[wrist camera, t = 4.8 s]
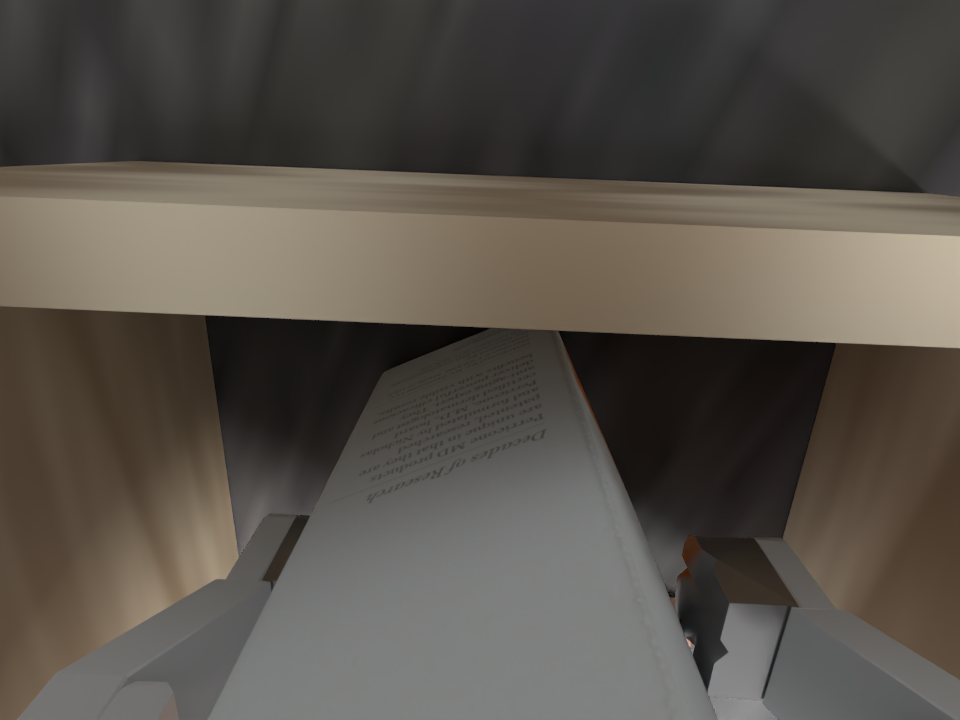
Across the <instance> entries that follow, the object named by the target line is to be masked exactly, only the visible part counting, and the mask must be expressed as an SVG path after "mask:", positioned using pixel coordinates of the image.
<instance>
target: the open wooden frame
mask: <svg viewBox="0 0 960 720" xmlns="http://www.w3.org/2000/svg"><path fill="white" fill-rule="evenodd" d="M205 315H214V316H237V317H260V318H282V319H305V320H328V321H351V322H374V323H397V324H420V325H442V326H465V327H488V328H511V329H534V330H557V331H579V332H602V333H625V334H648V335H671V336H694V337H716V338H739V339H762V340H785V341H808V342H831V343H836V347H835V351H834V354H833V358H832V361H831V365H830V369H829V372H828V376H827V380H826V383H825V387H824V390H823V394H822V398H821V401H820V405H819V408H818V412H817V416H816V419H815V423H814V427H813V430H812V434H811V437H810V441H809V445H808V448H807V452H806V456H805V459H804V463H803V466H802V470H801V474H800V477H799V481H798V485H797V488H796V492H795V495H794V499H793V503H792V506H791V510H790V513H789V517H788V521H787V524H786V528H785V532H784V535H783V540H784V541H786V542H787V543H788V545H789V546H790V547H791V549H792V550H793V551H794V553H795V554H796V555H797V557H798V558H799V559H800V561H801V562H802V563H803V565H804V566H805V568H806V569H807V570H808V572H809V573H810V574H811V576H812V577H813V578H814V580H815V581H816V582H817V584H818V585H819V586H820V588H821V589H822V590H823V592H824V593H825V594H826V596H827V597H828V599H829V600H830V601H831V603H832V604H833V605H834V607H835V608H836V609H837V610H847V611H849V612H850V613H852V614H854V615H855V616H857V617H859V618H860V619H862V620H863V621H865V622H867V623H868V624H870V625H872V626H873V627H875V628H876V629H878V630H880V631H881V632H883V633H884V634H886V635H888V636H889V637H891V638H893V639H894V640H896V641H897V642H899V643H901V644H902V645H904V646H906V647H907V648H909V649H910V650H912V651H914V652H915V653H917V654H919V655H920V656H922V657H923V658H925V659H927V660H928V661H930V662H932V663H933V664H935V665H936V666H938V667H940V668H941V669H943V670H945V671H946V672H948V673H949V674H951V675H953V676H954V677H956V678H958V679H959V680H960V197H957V196H948V195H939V194H930V193H907V192H883V191H858V190H834V189H810V188H785V187H761V186H736V185H712V184H687V183H663V182H638V181H614V180H589V179H565V178H541V177H516V176H492V175H467V174H443V173H418V172H394V171H369V170H345V169H320V168H296V167H272V166H247V165H223V164H198V163H174V162H149V161H121V162H99V163H76V164H54V165H32V166H9V167H0V720H17V719H18V718H19V716H20V715H21V714H22V713H23V712H24V710H25V709H26V708H27V707H28V706H29V704H30V703H31V702H32V701H33V700H34V699H35V697H36V696H37V695H38V694H39V693H40V691H41V690H42V689H43V688H44V687H45V685H46V684H47V683H48V682H49V681H50V679H51V678H52V677H53V676H54V675H55V674H56V673H57V672H59V671H60V670H62V669H64V668H66V667H67V666H69V665H71V664H72V663H74V662H76V661H78V660H79V659H81V658H83V657H84V656H86V655H88V654H89V653H91V652H93V651H95V650H96V649H98V648H100V647H101V646H103V645H105V644H106V643H108V642H110V641H112V640H113V639H115V638H117V637H118V636H120V635H122V634H123V633H125V632H127V631H129V630H130V629H132V628H134V627H135V626H137V625H139V624H140V623H142V622H144V621H146V620H147V619H149V618H151V617H152V616H154V615H156V614H157V613H159V612H161V611H163V610H164V609H166V608H168V607H169V606H171V605H173V604H175V603H176V602H178V601H180V600H181V599H183V598H185V597H186V596H188V595H190V594H192V593H193V592H195V591H197V590H198V589H200V588H202V587H203V586H205V585H207V584H209V583H210V582H212V581H214V580H215V579H226V578H227V576H228V574H229V573H230V571H231V570H232V568H233V566H234V565H235V563H236V562H237V560H238V558H239V556H238V549H237V541H236V534H235V527H234V520H233V513H232V506H231V498H230V491H229V484H228V477H227V470H226V463H225V456H224V448H223V441H222V434H221V427H220V420H219V413H218V406H217V398H216V391H215V384H214V377H213V370H212V363H211V356H210V348H209V341H208V334H207V327H206V320H205Z"/></svg>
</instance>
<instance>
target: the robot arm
mask: <svg viewBox="0 0 960 720" xmlns="http://www.w3.org/2000/svg"><path fill="white" fill-rule="evenodd" d="M309 517H310V516H309V515H299V516H298V515H291V514H273V513H271V514H269V515H267V516H266V517H265V518H264V519H263V520H262V522H261V523H260V525H259V527H258V528H257V530H256V531H255V533H254V535H253V536H252V538H251V539H250V541H249V543H248V544H247V546H246V547H245V549H244V550H243V552H242V554H241V555H240V557H239V558H238V560H237V562H236V563H235V565H234V566H233V568H232V570H231V571H230V573H229V574H228V576H227V578H226V579H215V580H214V581H212V582H210V583H209V584H207V585H205V586H203V587H202V588H200V589H198V590H197V591H195V592H193V593H192V594H190V595H188V596H186V597H185V598H183V599H181V600H180V601H178V602H176V603H175V604H173V605H171V606H169V607H168V608H166V609H164V610H163V611H161V612H159V613H157V614H156V615H154V616H152V617H151V618H149V619H147V620H146V621H144V622H142V623H140V624H139V625H137V626H135V627H134V628H132V629H130V630H129V631H127V632H125V633H123V634H122V635H120V636H118V637H117V638H115V639H113V640H112V641H110V642H108V643H106V644H105V645H103V646H101V647H100V648H98V649H96V650H95V651H93V652H91V653H89V654H88V655H86V656H84V657H83V658H81V659H79V660H78V661H76V662H74V663H72V664H71V665H69V666H67V667H66V668H64V669H62V670H60V671H59V672H57V673H56V674H55V675H54V676H53V677H52V678H51V679H50V681H49V682H48V683H47V684H46V685H45V687H44V688H43V689H42V690H41V691H40V693H39V694H38V695H37V696H36V697H35V699H34V700H33V701H32V702H31V703H30V704H29V706H28V707H27V708H26V709H25V710H24V712H23V713H22V714H21V715H20V716H19V718H18V719H17V720H207V719H208V717H209V716H210V714H211V712H212V710H213V708H214V706H215V704H216V702H217V700H218V698H219V696H220V694H221V692H222V690H223V688H224V686H225V684H226V682H227V680H228V678H229V676H230V674H231V672H232V670H233V668H234V666H235V664H236V662H237V660H238V658H239V656H240V654H241V652H242V650H243V648H244V646H245V644H246V642H247V640H248V638H249V636H250V634H251V632H252V630H253V628H254V626H255V624H256V622H257V620H258V618H259V616H260V614H261V612H262V610H263V608H264V606H265V604H266V602H267V600H268V598H269V596H270V594H271V592H272V590H273V588H274V586H275V584H276V582H277V580H278V578H279V576H280V574H281V572H282V570H283V568H284V566H285V564H286V562H287V560H288V558H289V556H290V555H291V553H292V551H293V549H294V547H295V545H296V543H297V541H298V539H299V537H300V535H301V533H302V531H303V529H304V527H305V525H306V523H307V521H308V519H309ZM682 556H683V558H684V560H685V563H686V565H687V567H688V568H687V569H685V570H684V571H683V572H682V573H681V574H680V575H679V576H678V578H677V585H676V591H675V602H676V613H677V617H678V619H679V622H680V625H681V627H682V630H683V632H684V635H685V637H686V638H687V639H688V640H689V641H690V642H691V643H692V644H694V645H695V648H694V652H693V657H694V660H695V662H696V665H697V668H698V670H699V673H700V675H701V678H702V680H703V683H704V686H705V688H706V691H707V693H708V696H711V697H723V698H735V699H748V700H760V701H763V704H764V705H765V706H766V707H767V708H768V709H769V711H770V712H771V713H772V714H773V715H774V716H775V717H776V718H777V719H778V720H960V680H959V679H958V678H956V677H954V676H953V675H951V674H949V673H948V672H946V671H945V670H943V669H941V668H940V667H938V666H936V665H935V664H933V663H932V662H930V661H928V660H927V659H925V658H923V657H922V656H920V655H919V654H917V653H915V652H914V651H912V650H910V649H909V648H907V647H906V646H904V645H902V644H901V643H899V642H897V641H896V640H894V639H893V638H891V637H889V636H888V635H886V634H884V633H883V632H881V631H880V630H878V629H876V628H875V627H873V626H872V625H870V624H868V623H867V622H865V621H863V620H862V619H860V618H859V617H857V616H855V615H854V614H852V613H850V612H849V611H847V610H837V609H836V608H835V607H834V605H833V604H832V603H831V601H830V600H829V599H828V597H827V596H826V594H825V593H824V592H823V590H822V589H821V588H820V586H819V585H818V584H817V582H816V581H815V580H814V578H813V577H812V576H811V574H810V573H809V572H808V570H807V569H806V568H805V566H804V565H803V563H802V562H801V561H800V559H799V558H798V557H797V555H796V554H795V553H794V551H793V550H792V549H791V547H790V546H789V545H788V543H787V542H786V541H784V540H783V539H781V538H779V537H749V538H737V537H715V536H692V535H689V536H688V538H687V540H686V541H685V544H684V549H683V553H682Z"/></svg>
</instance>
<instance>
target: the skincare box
mask: <svg viewBox="0 0 960 720" xmlns="http://www.w3.org/2000/svg"><path fill="white" fill-rule="evenodd" d="M207 720H718V719H717V716H716V714H715V711H714V709H713V706H712V704H711V701H710V698H709V696H708V693H707V691H706V688H705V686H704V683H703V680H702V678H701V675H700V673H699V670H698V668H697V665H696V662H695V660H694V657H693V655H692V652H691V650H690V647H689V645H688V642H687V640H686V637H685V635H684V632H683V630H682V627H681V625H680V622H679V619H678V617H677V614H676V612H675V609H674V607H673V604H672V602H671V599H670V597H669V594H668V592H667V589H666V587H665V584H664V582H663V579H662V577H661V574H660V572H659V569H658V567H657V564H656V562H655V559H654V557H653V554H652V552H651V549H650V547H649V544H648V542H647V539H646V537H645V534H644V532H643V529H642V527H641V524H640V522H639V520H638V517H637V515H636V512H635V510H634V508H633V505H632V503H631V500H630V498H629V496H628V493H627V491H626V489H625V486H624V484H623V481H622V479H621V477H620V474H619V472H618V470H617V467H616V465H615V462H614V460H613V458H612V455H611V453H610V450H609V448H608V446H607V443H606V441H605V439H604V436H603V434H602V432H601V430H600V427H599V425H598V423H597V420H596V418H595V416H594V413H593V411H592V409H591V406H590V404H589V402H588V399H587V397H586V395H585V392H584V390H583V388H582V386H581V383H580V381H579V379H578V377H577V374H576V372H575V369H574V367H573V365H572V362H571V360H570V357H569V355H568V353H567V350H566V348H565V346H564V343H563V341H562V339H561V336H560V334H559V331H557V330H534V329H511V328H490V329H488V330H485V331H483V332H481V333H478V334H476V335H473V336H471V337H468V338H466V339H463V340H461V341H458V342H455V343H453V344H450V345H448V346H445V347H443V348H440V349H438V350H436V351H433V352H431V353H428V354H426V355H423V356H421V357H418V358H416V359H413V360H411V361H408V362H406V363H403V364H401V365H399V366H396V367H394V368H392V369H389V370H387V371H385V372H384V373H383V374H382V375H381V377H380V378H379V380H378V382H377V384H376V386H375V388H374V390H373V392H372V394H371V396H370V398H369V400H368V402H367V404H366V406H365V408H364V410H363V412H362V414H361V416H360V418H359V420H358V421H357V423H356V425H355V428H354V430H353V432H352V434H351V435H350V437H349V439H348V441H347V443H346V445H345V447H344V449H343V451H342V453H341V455H340V457H339V460H338V462H337V463H336V465H335V467H334V469H333V471H332V473H331V475H330V477H329V479H328V481H327V483H326V485H325V487H324V489H323V491H322V493H321V495H320V497H319V499H318V501H317V503H316V505H315V507H314V509H313V511H312V513H311V515H310V517H309V519H308V521H307V523H306V525H305V527H304V529H303V531H302V533H301V535H300V537H299V539H298V541H297V543H296V545H295V547H294V549H293V551H292V553H291V555H290V556H289V558H288V560H287V562H286V564H285V566H284V568H283V570H282V572H281V574H280V576H279V578H278V580H277V582H276V584H275V586H274V588H273V590H272V592H271V594H270V596H269V598H268V600H267V602H266V604H265V606H264V608H263V610H262V612H261V614H260V616H259V618H258V620H257V622H256V624H255V626H254V628H253V630H252V632H251V634H250V636H249V638H248V640H247V642H246V644H245V646H244V648H243V650H242V652H241V654H240V656H239V658H238V660H237V662H236V664H235V666H234V668H233V670H232V672H231V674H230V676H229V678H228V680H227V682H226V684H225V686H224V688H223V690H222V692H221V694H220V696H219V698H218V700H217V702H216V704H215V706H214V708H213V710H212V712H211V714H210V716H209V717H208V719H207Z"/></svg>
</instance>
